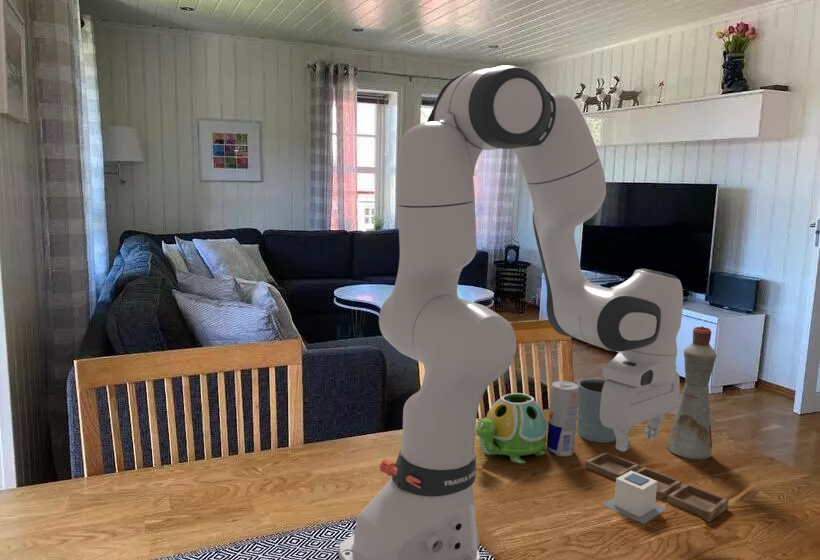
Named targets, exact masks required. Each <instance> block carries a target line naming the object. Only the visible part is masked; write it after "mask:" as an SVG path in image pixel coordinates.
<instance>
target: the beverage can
mask: <svg viewBox="0 0 820 560" xmlns="http://www.w3.org/2000/svg"><path fill="white" fill-rule="evenodd" d="M578 388H579V386H578V383H574V382H572V381H565V380H557V381H553V382H552V383H551V387H550V399H549V412H548V422H547V435H546V451H547V452H548V453H549V454H552V455H554V456H559V457H570V456H572V455H573V454H575V453H574V452H575V443H576V441H575V440H576V433H577V431H576V430H577V421H578V409H579V408H578V396H579V389H578Z"/></svg>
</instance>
